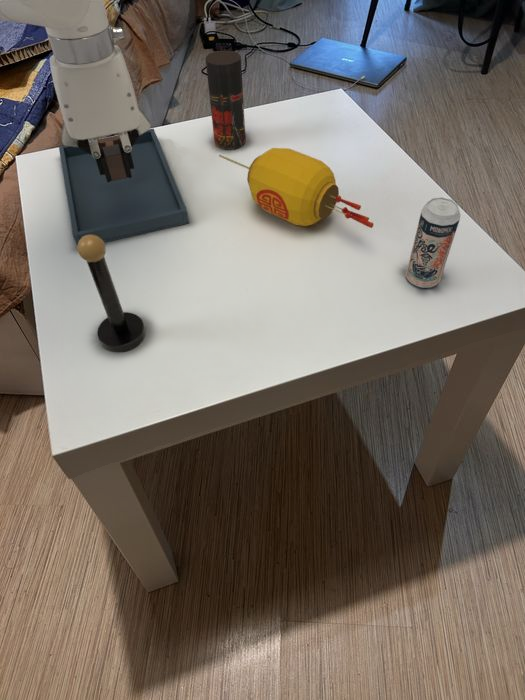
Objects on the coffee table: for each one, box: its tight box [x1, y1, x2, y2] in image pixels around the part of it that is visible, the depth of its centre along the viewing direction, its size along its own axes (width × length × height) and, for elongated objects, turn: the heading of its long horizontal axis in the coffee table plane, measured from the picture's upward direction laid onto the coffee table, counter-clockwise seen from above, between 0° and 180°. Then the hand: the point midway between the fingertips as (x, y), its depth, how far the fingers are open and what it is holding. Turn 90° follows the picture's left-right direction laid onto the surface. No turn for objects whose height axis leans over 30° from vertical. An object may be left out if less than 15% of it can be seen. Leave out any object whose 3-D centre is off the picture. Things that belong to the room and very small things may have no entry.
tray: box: [58, 128, 190, 246], centre depth 90 cm, size 18×28×2 cm, turn 18°
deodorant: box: [205, 49, 247, 151], centre depth 94 cm, size 6×6×15 cm
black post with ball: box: [76, 234, 146, 353], centre depth 63 cm, size 6×6×16 cm
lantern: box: [218, 147, 375, 229], centre depth 81 cm, size 10×10×30 cm
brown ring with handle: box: [97, 134, 128, 181], centre depth 83 cm, size 20×11×4 cm, turn 18°
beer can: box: [405, 196, 462, 289], centre depth 69 cm, size 5×5×12 cm
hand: (118, 174), depth 79 cm, fingers closed on brown ring with handle, 2 cm apart
